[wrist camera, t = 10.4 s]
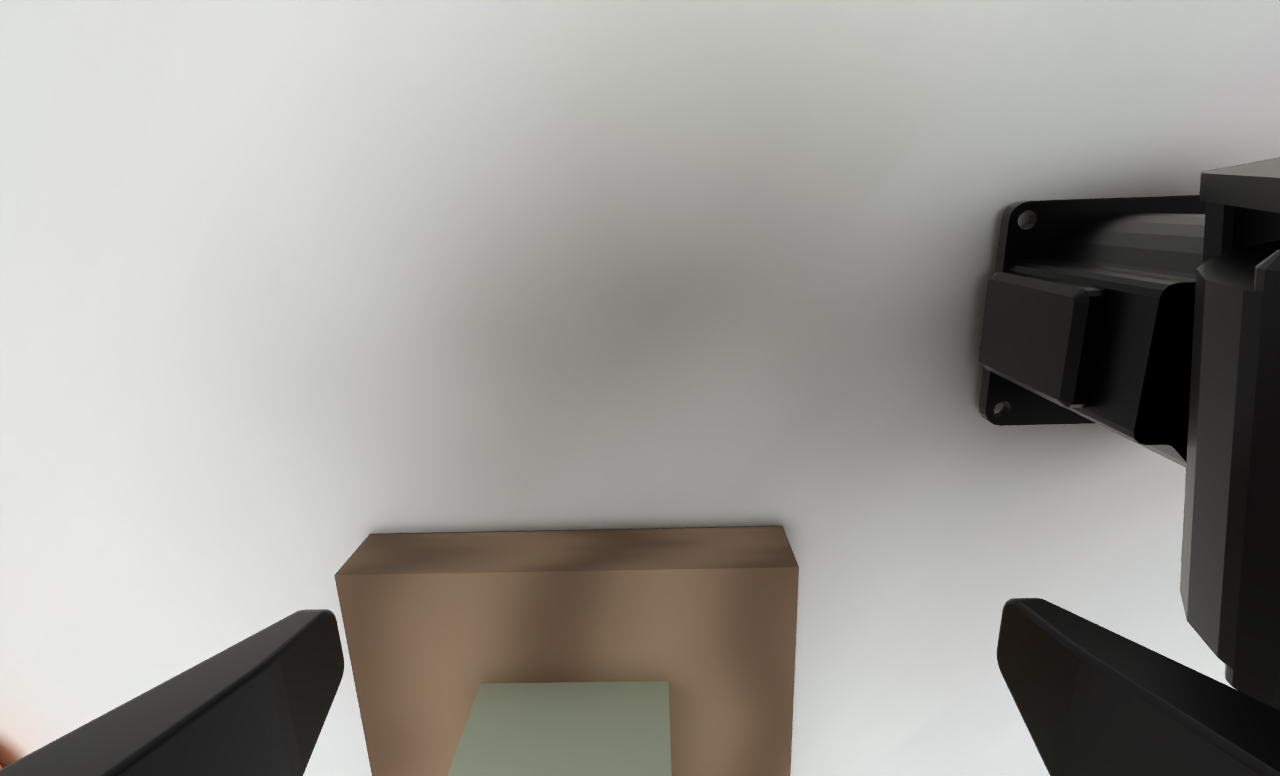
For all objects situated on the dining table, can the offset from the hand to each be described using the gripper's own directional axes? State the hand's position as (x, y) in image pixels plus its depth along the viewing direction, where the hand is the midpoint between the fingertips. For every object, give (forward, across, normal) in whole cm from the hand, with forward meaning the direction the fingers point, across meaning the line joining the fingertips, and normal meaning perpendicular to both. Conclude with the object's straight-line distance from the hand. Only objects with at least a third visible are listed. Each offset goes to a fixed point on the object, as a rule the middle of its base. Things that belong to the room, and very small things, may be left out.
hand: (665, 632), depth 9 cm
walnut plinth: (+12, +3, +12) cm, 17 cm away
